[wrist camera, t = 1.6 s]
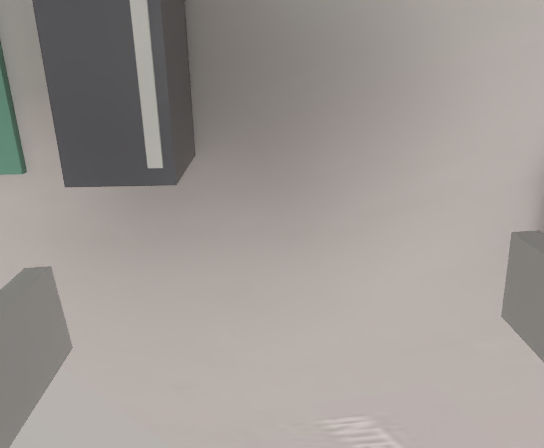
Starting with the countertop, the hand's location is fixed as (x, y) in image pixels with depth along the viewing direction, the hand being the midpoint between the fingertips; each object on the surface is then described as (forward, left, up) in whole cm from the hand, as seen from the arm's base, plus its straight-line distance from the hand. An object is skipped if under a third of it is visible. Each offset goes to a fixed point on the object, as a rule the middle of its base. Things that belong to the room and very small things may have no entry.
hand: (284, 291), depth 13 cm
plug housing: (-6, -8, -21) cm, 23 cm away
